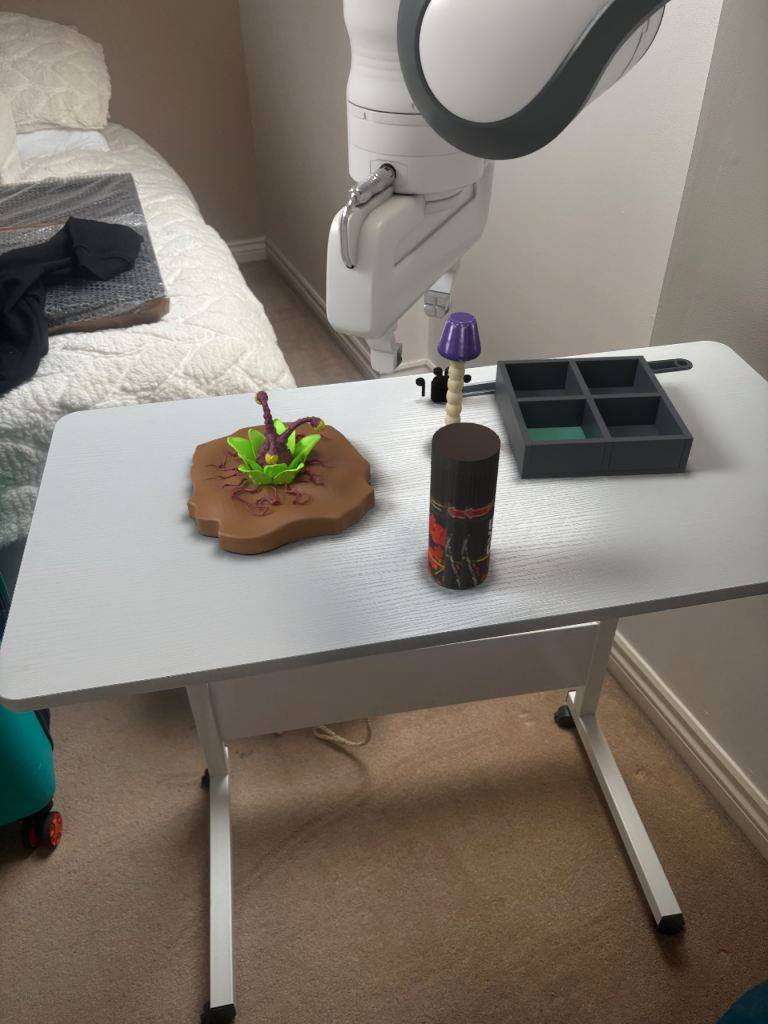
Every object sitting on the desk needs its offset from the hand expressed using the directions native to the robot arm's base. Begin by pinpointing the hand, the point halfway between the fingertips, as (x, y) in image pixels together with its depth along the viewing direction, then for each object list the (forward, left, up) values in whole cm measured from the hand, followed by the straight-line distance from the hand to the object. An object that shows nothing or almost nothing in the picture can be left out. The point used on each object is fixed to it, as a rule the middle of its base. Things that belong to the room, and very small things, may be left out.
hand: (413, 339), depth 62 cm
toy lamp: (-7, -22, -26) cm, 35 cm away
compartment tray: (-23, -25, -26) cm, 43 cm away
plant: (+13, -16, -26) cm, 34 cm away
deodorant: (-5, -2, -26) cm, 27 cm away
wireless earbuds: (-7, -32, -26) cm, 42 cm away
